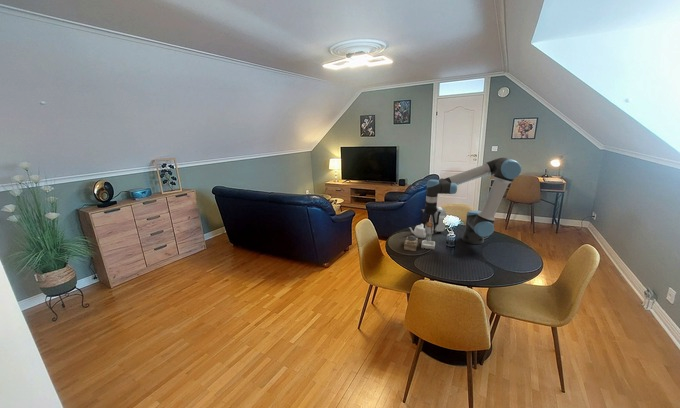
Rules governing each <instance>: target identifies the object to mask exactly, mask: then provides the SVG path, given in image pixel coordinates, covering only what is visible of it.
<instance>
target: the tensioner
mask: <svg viewBox="0 0 680 408" xmlns="http://www.w3.org/2000/svg"><path fill="white" fill-rule="evenodd" d="M418 240H419V238H418V237H416V236H415V235H409V236H406V238H405V241H404V244H403V250H404V251H405V250H407V251H413V252H416V251H417V246H418Z"/></svg>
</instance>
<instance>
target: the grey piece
mask: <svg viewBox="0 0 680 408" xmlns="http://www.w3.org/2000/svg"><path fill="white" fill-rule="evenodd" d="M437 210H438V211H441V213H440V215H439V223H438V225H436V226H435V229H434V230H433V232H435V233H437V232H441V233H443V232H445V230H446V225H445V224H444V223H443V220H444V218H445V217H446V216H447V212H446V211H447V210H446V209H445V208H444V207H441V206H437ZM437 215H438V214H437V212H436V213H435V214H434V216H435V222H436V223H437ZM429 216H430V217H429V218H430V219H429V220H430V222H431V223H433V217H432V215H429ZM447 217H448V216H447ZM433 224H434V223H433Z"/></svg>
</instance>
